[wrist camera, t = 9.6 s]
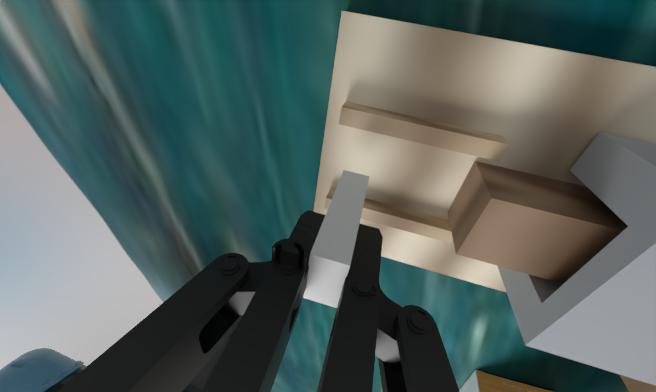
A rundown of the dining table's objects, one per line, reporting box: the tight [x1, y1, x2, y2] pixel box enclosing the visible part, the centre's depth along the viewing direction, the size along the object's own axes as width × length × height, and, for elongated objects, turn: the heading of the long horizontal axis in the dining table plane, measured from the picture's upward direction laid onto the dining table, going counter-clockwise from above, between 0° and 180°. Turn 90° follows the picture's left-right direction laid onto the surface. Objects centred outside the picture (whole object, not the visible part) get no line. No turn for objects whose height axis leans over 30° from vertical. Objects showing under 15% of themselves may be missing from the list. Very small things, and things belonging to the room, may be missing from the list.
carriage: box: [497, 132, 656, 386], centre depth 13 cm, size 7×10×6 cm
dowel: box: [448, 161, 628, 284], centre depth 15 cm, size 10×4×4 cm, turn 82°
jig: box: [313, 11, 656, 392], centre depth 13 cm, size 24×16×10 cm, turn 82°
